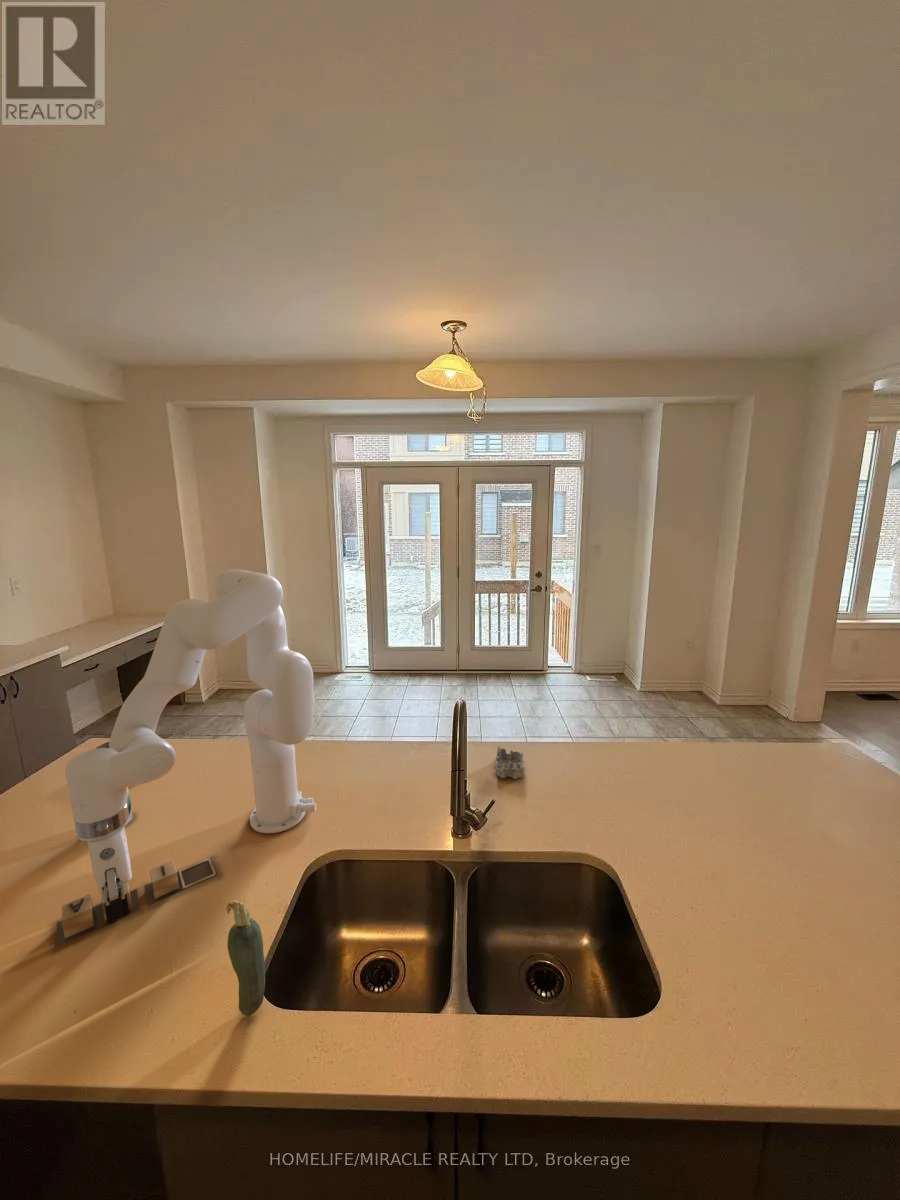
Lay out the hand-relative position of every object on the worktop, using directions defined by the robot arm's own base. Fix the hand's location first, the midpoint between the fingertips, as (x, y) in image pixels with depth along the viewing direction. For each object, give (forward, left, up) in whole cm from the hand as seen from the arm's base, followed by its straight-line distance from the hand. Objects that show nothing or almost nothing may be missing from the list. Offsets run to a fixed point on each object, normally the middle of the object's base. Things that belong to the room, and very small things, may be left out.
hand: (117, 905), depth 85 cm
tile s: (0, 0, -1) cm, 1 cm away
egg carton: (-81, -42, -1) cm, 91 cm away
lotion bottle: (+15, -25, -1) cm, 29 cm away
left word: (+2, +2, -1) cm, 3 cm away
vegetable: (-32, +20, -1) cm, 37 cm away
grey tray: (-9, -6, -1) cm, 10 cm away
